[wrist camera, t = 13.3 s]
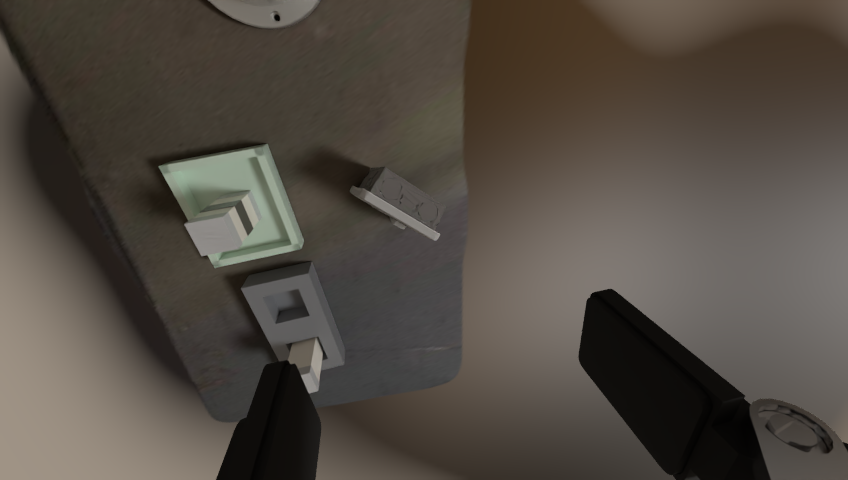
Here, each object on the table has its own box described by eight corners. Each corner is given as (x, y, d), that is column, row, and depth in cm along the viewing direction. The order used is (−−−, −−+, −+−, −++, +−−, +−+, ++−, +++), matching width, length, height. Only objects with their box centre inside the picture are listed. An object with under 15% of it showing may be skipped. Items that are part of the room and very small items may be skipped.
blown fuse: (220, 195, 34) (184, 224, 27) (251, 190, 35) (223, 216, 28) (233, 222, 36) (201, 256, 29) (262, 217, 36) (238, 248, 29)
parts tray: (170, 161, 33) (158, 166, 31) (267, 143, 34) (261, 147, 32) (222, 258, 38) (214, 267, 36) (304, 240, 39) (301, 249, 37)
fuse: (294, 333, 44) (281, 379, 37) (317, 327, 45) (309, 373, 38) (302, 349, 46) (291, 397, 39) (324, 344, 46) (318, 390, 39)
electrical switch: (347, 190, 37) (349, 211, 29) (370, 153, 36) (378, 164, 28) (411, 227, 41) (429, 256, 33) (433, 194, 40) (457, 215, 32)
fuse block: (248, 275, 40) (240, 288, 37) (311, 261, 40) (308, 273, 38) (292, 362, 47) (288, 378, 45) (345, 349, 48) (344, 364, 45)
